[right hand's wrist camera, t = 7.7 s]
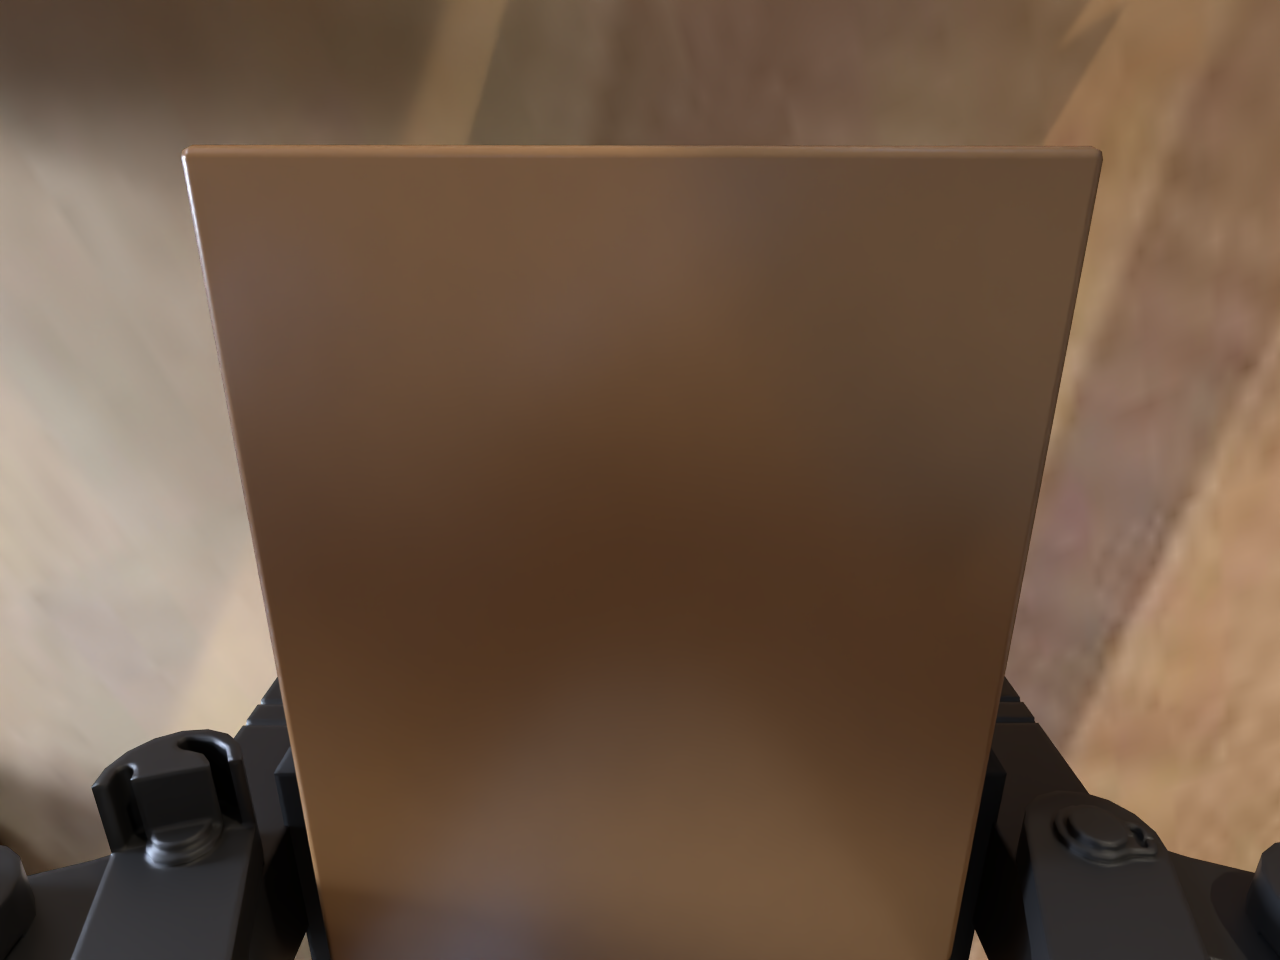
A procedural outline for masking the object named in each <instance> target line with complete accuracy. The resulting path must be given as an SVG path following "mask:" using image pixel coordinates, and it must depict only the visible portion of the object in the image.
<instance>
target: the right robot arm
mask: <svg viewBox="0 0 1280 960" xmlns="http://www.w3.org/2000/svg"><path fill="white" fill-rule="evenodd" d="M91 788H92V791H93V794H94V797H95V801H96V804H97V807H98V810H99V813H100V817H101V820H102V823H103V826H104V830H105V833H106V836H107V839H108V842H109V846H110V849H111V852H112V854H111V855H109V856H105V857H102V858H99V859H96V860H92V861H88V862H84V863H80V864H75V865H71V866H67V867H63V868H59V869H54V870H50V871H46V872H42V873H38V874H33V875H29V876H27V875H26V872H25V870H24V867H23V864H22V861H21V859H20V856H18V855H17V854H16V853H15V852H14V851H12V850H11V849H10V848H9V847H7V846H1V845H0V960H294V958H295V956H296V954H297V951H298V949H299V947H300V944H301V942H302V940H303V938H304V935H305V933H307V938H308V942H309V947H310V952H311V957H312V960H331V959H330V954H329V948H328V943H327V938H326V932H325V927H324V922H323V916H322V911H321V905H320V900H319V895H318V889H317V884H316V879H315V873H314V868H313V863H312V857H311V852H310V846H309V841H308V836H307V830H306V825H305V820H304V814H303V809H302V804H301V798H300V793H299V787H298V782H297V777H296V771H295V766H294V761H293V755H292V750H291V745H290V739H289V734H288V729H287V723H286V718H285V712H284V707H283V702H282V696H281V691H280V686H279V680H278V677H277V679H276V680H275V681H274V683H273V684H272V686H271V687H270V688H269V690H268V691H267V693H266V694H265V695H264V697H263V698H262V700H261V705H257V707H256V708H255V709H254V711H253V712H252V714H251V715H250V716H249V718H248V719H247V724H246V726H242V728H241V729H240V730H239V732H238V733H237V735H236V736H235V737H234V739H233V738H232V737H231V736H230V735H229V734H226V733H222V732H217V731H213V730H209V729H206V730H190V731H181V732H177V733H173V734H170V735H166V736H162V737H159V738H155V739H153V740H151V741H149V742H146V743H144V744H142V745H140V746H138V747H136V748H134V749H132V750H130V751H128V752H126V753H125V754H124V755H122V756H121V757H120V758H118V759H117V760H116V761H114V762H113V763H112V764H110V765H109V766H108V767H106V768H105V769H104V771H103V772H102V773H101V775H100V776H99V777H98V779H97V780H96V781H95V783H94V784H93V786H92V787H91ZM975 930H976V933H977V935H978V937H979V939H980V942H981V944H982V946H983V948H984V951H985V953H986V955H987V958H988V960H1280V842H1279V843H1274V844H1273V845H1272V846H1271V847H1269V848H1268V849H1267V850H1266V851H1264V852H1263V853H1262V855H1261V858H1260V861H1259V863H1258V866H1257V869H1256V872H1255V873H1253V872H1249V871H1244V870H1240V869H1236V868H1232V867H1227V866H1223V865H1219V864H1215V863H1211V862H1206V861H1202V860H1198V859H1194V858H1189V857H1186V856H1183V855H1179V854H1176V853H1173V852H1170V851H1168V850H1167V849H1166V847H1165V846H1164V844H1163V843H1162V841H1161V840H1160V838H1159V837H1158V835H1157V833H1156V832H1155V831H1154V830H1153V829H1151V828H1150V827H1149V826H1148V825H1147V824H1146V823H1144V822H1143V821H1142V820H1141V819H1140V818H1139V817H1137V816H1136V815H1135V814H1133V813H1132V812H1130V811H1128V810H1126V809H1124V808H1122V807H1120V806H1119V805H1117V804H1115V803H1113V802H1111V801H1109V800H1106V799H1103V798H1100V797H1096V796H1093V795H1090V794H1089V793H1088V792H1087V790H1086V789H1085V788H1084V786H1083V785H1082V783H1081V782H1080V781H1079V779H1078V778H1077V776H1076V775H1075V774H1074V772H1073V771H1072V769H1071V768H1070V767H1069V765H1068V764H1067V762H1066V761H1065V760H1064V758H1063V757H1062V755H1061V754H1060V753H1059V751H1058V750H1057V749H1056V747H1055V746H1054V744H1053V743H1052V742H1051V740H1050V739H1049V737H1048V736H1047V735H1046V733H1045V732H1044V730H1043V729H1042V728H1041V726H1040V725H1039V723H1035V721H1034V716H1033V715H1032V714H1031V712H1030V711H1029V709H1028V708H1027V707H1026V705H1025V704H1024V703H1023V702H1020V697H1019V696H1018V694H1017V693H1016V691H1015V690H1014V689H1013V687H1012V686H1011V684H1010V683H1009V682H1008V680H1007V679H1006V677H1005V676H1004V681H1003V686H1002V691H1001V697H1000V702H999V707H998V712H997V718H996V723H995V728H994V733H993V739H992V744H991V749H990V754H989V760H988V765H987V770H986V775H985V781H984V786H983V791H982V796H981V802H980V807H979V812H978V817H977V823H976V828H975V833H974V838H973V844H972V849H971V854H970V859H969V865H968V870H967V875H966V880H965V886H964V891H963V896H962V901H961V907H960V912H959V917H958V922H957V928H956V933H955V938H954V943H953V949H952V954H951V959H950V960H969V955H970V950H971V945H972V940H973V935H974V931H975Z"/></svg>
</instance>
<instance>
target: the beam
mask: <svg viewBox="0 0 1280 960" xmlns="http://www.w3.org/2000/svg"><path fill="white" fill-rule="evenodd" d="M181 160H182V166H183V171H184V176H185V182H186V187H187V192H188V198H189V203H190V209H191V214H192V219H193V225H194V230H195V235H196V241H197V246H198V251H199V257H200V262H201V268H202V273H203V278H204V284H205V289H206V294H207V300H208V305H209V310H210V316H211V321H212V326H213V332H214V337H215V343H216V348H217V353H218V359H219V364H220V369H221V375H222V380H223V385H224V391H225V396H226V402H227V407H228V412H229V418H230V423H231V428H232V434H233V439H234V444H235V450H236V455H237V460H238V466H239V471H240V477H241V482H242V487H243V493H244V498H245V503H246V509H247V514H248V519H249V525H250V530H251V536H252V541H253V546H254V552H255V557H256V562H257V568H258V573H259V578H260V584H261V589H262V595H263V600H264V605H265V611H266V616H267V621H268V627H269V632H270V637H271V643H272V648H273V653H274V659H275V664H276V670H277V675H278V680H279V686H280V691H281V696H282V702H283V707H284V712H285V718H286V723H287V729H288V734H289V739H290V745H291V750H292V755H293V761H294V766H295V771H296V777H297V782H298V787H299V793H300V798H301V804H302V809H303V814H304V820H305V825H306V830H307V836H308V841H309V846H310V852H311V857H312V863H313V868H314V873H315V879H316V884H317V889H318V895H319V900H320V905H321V911H322V916H323V922H324V927H325V932H326V938H327V943H328V948H329V954H330V959H331V960H950V959H951V954H952V949H953V943H954V938H955V933H956V928H957V922H958V917H959V912H960V907H961V901H962V896H963V891H964V886H965V880H966V875H967V870H968V865H969V859H970V854H971V849H972V844H973V838H974V833H975V828H976V823H977V817H978V812H979V807H980V802H981V796H982V791H983V786H984V781H985V775H986V770H987V765H988V760H989V754H990V749H991V744H992V739H993V733H994V728H995V723H996V718H997V712H998V707H999V702H1000V697H1001V691H1002V686H1003V681H1004V676H1005V670H1006V665H1007V660H1008V655H1009V649H1010V644H1011V639H1012V634H1013V628H1014V623H1015V618H1016V613H1017V607H1018V602H1019V597H1020V592H1021V586H1022V581H1023V576H1024V571H1025V565H1026V560H1027V555H1028V550H1029V544H1030V539H1031V534H1032V529H1033V523H1034V518H1035V513H1036V508H1037V503H1038V497H1039V492H1040V487H1041V482H1042V476H1043V471H1044V466H1045V461H1046V455H1047V450H1048V445H1049V440H1050V434H1051V429H1052V424H1053V419H1054V413H1055V408H1056V403H1057V398H1058V392H1059V387H1060V382H1061V377H1062V371H1063V366H1064V361H1065V356H1066V350H1067V345H1068V340H1069V335H1070V329H1071V324H1072V319H1073V314H1074V308H1075V303H1076V298H1077V293H1078V287H1079V282H1080V277H1081V272H1082V266H1083V261H1084V256H1085V251H1086V245H1087V240H1088V235H1089V230H1090V224H1091V219H1092V214H1093V209H1094V203H1095V198H1096V193H1097V188H1098V182H1099V177H1100V172H1101V167H1102V161H1103V157H1102V151H1100V150H1098V149H1096V148H1094V147H1092V146H630V145H191V146H189V147H187V148H185V149H183V150H182V156H181Z"/></svg>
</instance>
